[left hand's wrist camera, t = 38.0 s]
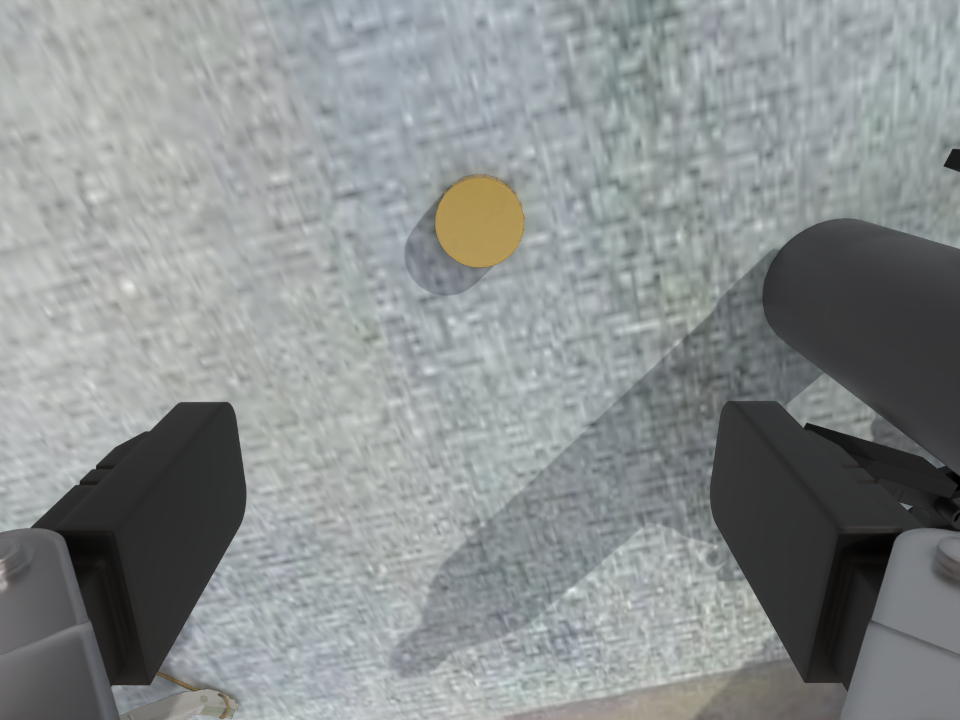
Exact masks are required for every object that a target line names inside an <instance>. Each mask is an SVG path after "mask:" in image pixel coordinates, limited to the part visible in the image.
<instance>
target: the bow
mask: <svg viewBox="0 0 960 720" xmlns="http://www.w3.org/2000/svg"><path fill="white" fill-rule="evenodd" d="M156 675H159V676H161V677H163V678H165V679H168V680H170V681H172V682H174V683H177V684H179V685H181V686H183V687H186V688H188V689H190V690H192V691H195V692H190V691H188V692H184V693H180V694H176V695H172V696H170V697H167V698H165V699H163V700H160V701H158V702H155V703H151V704H147V705H144V706H141V707H138V708H136V709H134V710H132V711H129V712H127V713H125V714H123V715H121V716H119V717H120V720H187V719H189V718H190V717H192V716H193V715H207V716H217V717H219V718H221V719H224V718H225V717H227V718H230V719H232V717H233V714H234V712H235V711H236V710H238V707H239V705H238V704H236V703H235V701H236V700H233V699H230V698H229V696H227V695H225V694H223V693H220V692H218V691H214V690H210V689H206V690H203V689H202V690H199V689H196V688H194V687H192V686H190V685H187V684H185V683H183V682H181V681H179V680H176V679H174V678H172V677H170V676H167V675H165V674H163V673H161V672H157V674H156Z"/></svg>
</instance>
